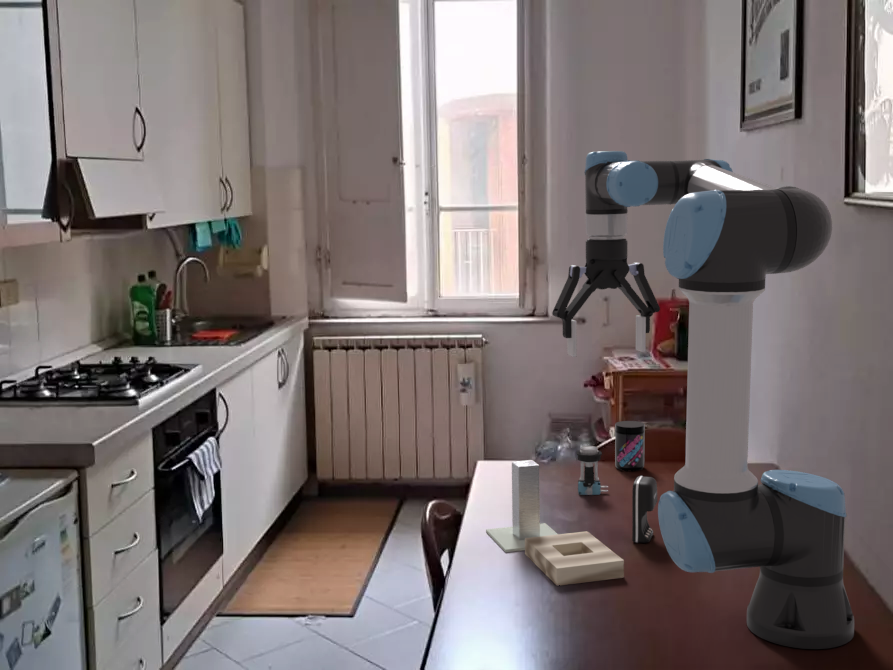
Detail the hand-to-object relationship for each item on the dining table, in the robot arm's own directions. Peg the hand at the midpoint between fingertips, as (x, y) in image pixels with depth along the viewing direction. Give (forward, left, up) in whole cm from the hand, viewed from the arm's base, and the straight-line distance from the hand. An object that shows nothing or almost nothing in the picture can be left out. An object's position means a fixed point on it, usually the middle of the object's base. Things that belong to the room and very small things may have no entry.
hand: (606, 353), depth 198 cm
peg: (+3, +15, -34) cm, 37 cm away
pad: (+3, +15, -35) cm, 38 cm away
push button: (+26, -8, -35) cm, 44 cm away
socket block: (-13, +12, -35) cm, 39 cm away
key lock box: (-4, -6, -35) cm, 36 cm away
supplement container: (+42, -24, -35) cm, 60 cm away
